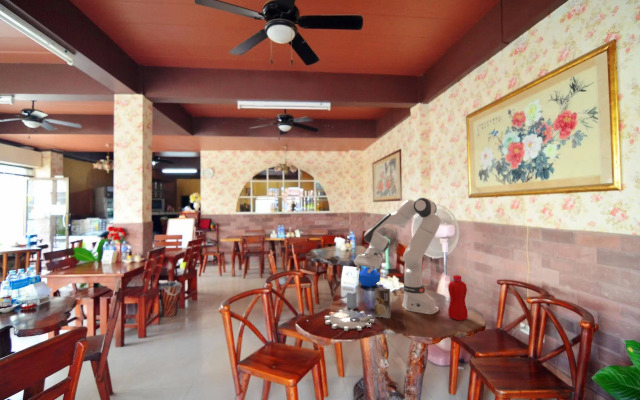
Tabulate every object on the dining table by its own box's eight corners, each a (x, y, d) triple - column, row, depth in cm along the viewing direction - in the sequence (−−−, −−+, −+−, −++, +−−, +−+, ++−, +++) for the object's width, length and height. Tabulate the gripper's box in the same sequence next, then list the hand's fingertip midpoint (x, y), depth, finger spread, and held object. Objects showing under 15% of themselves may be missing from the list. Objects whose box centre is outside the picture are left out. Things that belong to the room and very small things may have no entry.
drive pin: (356, 307, 200) (356, 292, 200) (352, 309, 196) (352, 293, 196) (351, 305, 203) (351, 290, 203) (347, 307, 199) (346, 292, 199)
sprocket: (383, 319, 178) (383, 316, 178) (354, 336, 157) (354, 332, 157) (344, 308, 198) (344, 305, 198) (314, 321, 176) (314, 318, 176)
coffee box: (391, 315, 185) (390, 288, 185) (389, 318, 179) (389, 291, 179) (376, 313, 188) (375, 287, 189) (374, 317, 182) (373, 290, 183)
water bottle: (444, 317, 180) (443, 275, 180) (455, 313, 186) (455, 273, 186) (458, 322, 172) (457, 278, 172) (469, 318, 178) (469, 276, 178)
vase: (384, 287, 244) (383, 263, 244) (362, 289, 240) (362, 265, 240) (375, 281, 261) (374, 259, 262) (354, 283, 258) (354, 260, 258)
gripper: (357, 250, 222) (348, 266, 215) (381, 254, 209) (373, 271, 201) (360, 256, 226) (352, 271, 219) (384, 260, 212) (377, 276, 205)
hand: (362, 271), depth 210 cm, fingers open, 8 cm apart
